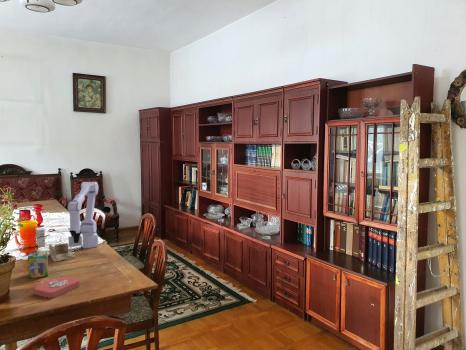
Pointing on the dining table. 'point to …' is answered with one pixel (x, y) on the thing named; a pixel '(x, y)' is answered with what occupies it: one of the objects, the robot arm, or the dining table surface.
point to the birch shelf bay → (60, 256)
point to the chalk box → (37, 264)
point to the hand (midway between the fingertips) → (75, 242)
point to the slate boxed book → (71, 241)
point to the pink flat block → (56, 287)
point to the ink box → (40, 237)
